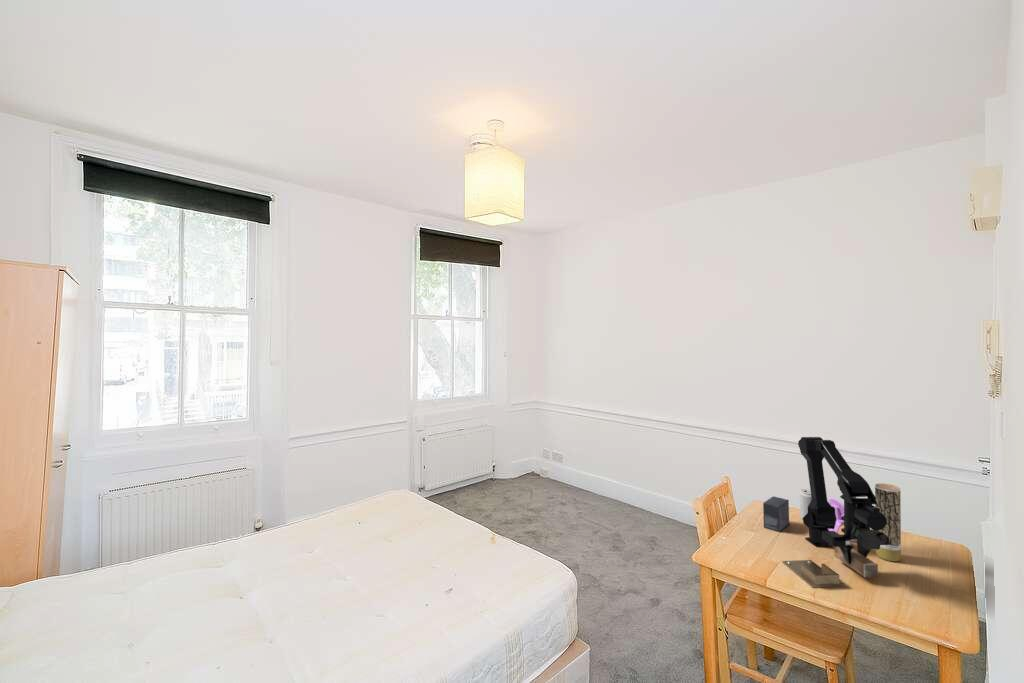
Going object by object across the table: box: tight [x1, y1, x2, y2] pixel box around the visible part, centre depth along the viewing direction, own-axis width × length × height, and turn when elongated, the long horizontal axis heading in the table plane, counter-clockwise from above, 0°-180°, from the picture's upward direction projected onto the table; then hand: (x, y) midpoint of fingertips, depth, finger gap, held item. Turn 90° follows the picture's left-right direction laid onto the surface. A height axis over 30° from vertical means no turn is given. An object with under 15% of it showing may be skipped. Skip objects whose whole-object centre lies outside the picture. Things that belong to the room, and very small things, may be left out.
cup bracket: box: [781, 559, 845, 589], centre depth 147 cm, size 15×10×4 cm, turn 1°
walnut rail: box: [834, 546, 879, 578], centre depth 148 cm, size 13×4×4 cm, turn 1°
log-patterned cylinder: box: [874, 483, 902, 563], centre depth 156 cm, size 7×7×25 cm
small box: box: [762, 496, 790, 533], centre depth 183 cm, size 11×6×10 cm, turn 130°
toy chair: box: [828, 497, 844, 534], centre depth 172 cm, size 8×9×15 cm
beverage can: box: [799, 488, 812, 520], centre depth 188 cm, size 6×6×12 cm
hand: (855, 563), depth 148 cm, fingers closed on walnut rail, 4 cm apart
